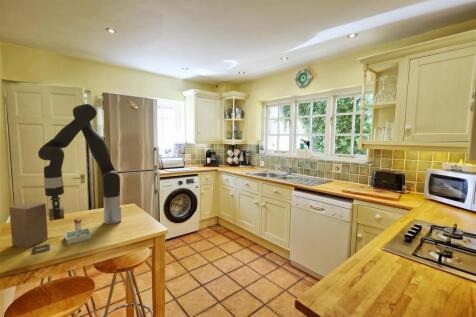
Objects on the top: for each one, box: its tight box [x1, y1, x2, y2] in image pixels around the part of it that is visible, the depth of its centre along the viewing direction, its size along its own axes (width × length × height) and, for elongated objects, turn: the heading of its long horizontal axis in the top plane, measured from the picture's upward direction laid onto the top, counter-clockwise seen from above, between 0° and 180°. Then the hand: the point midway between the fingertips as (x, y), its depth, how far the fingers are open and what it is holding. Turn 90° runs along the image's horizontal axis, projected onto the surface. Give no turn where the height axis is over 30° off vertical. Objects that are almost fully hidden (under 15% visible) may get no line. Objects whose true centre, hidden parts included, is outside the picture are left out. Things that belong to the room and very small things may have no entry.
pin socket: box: [32, 243, 51, 255], centre depth 110 cm, size 6×6×1 cm
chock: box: [48, 206, 65, 222], centre depth 117 cm, size 6×4×5 cm
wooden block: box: [8, 201, 49, 249], centre depth 115 cm, size 10×10×20 cm
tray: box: [64, 227, 93, 246], centre depth 122 cm, size 11×10×3 cm
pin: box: [73, 218, 82, 237], centre depth 122 cm, size 3×3×10 cm
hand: (56, 217), depth 117 cm, fingers closed on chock, 4 cm apart
